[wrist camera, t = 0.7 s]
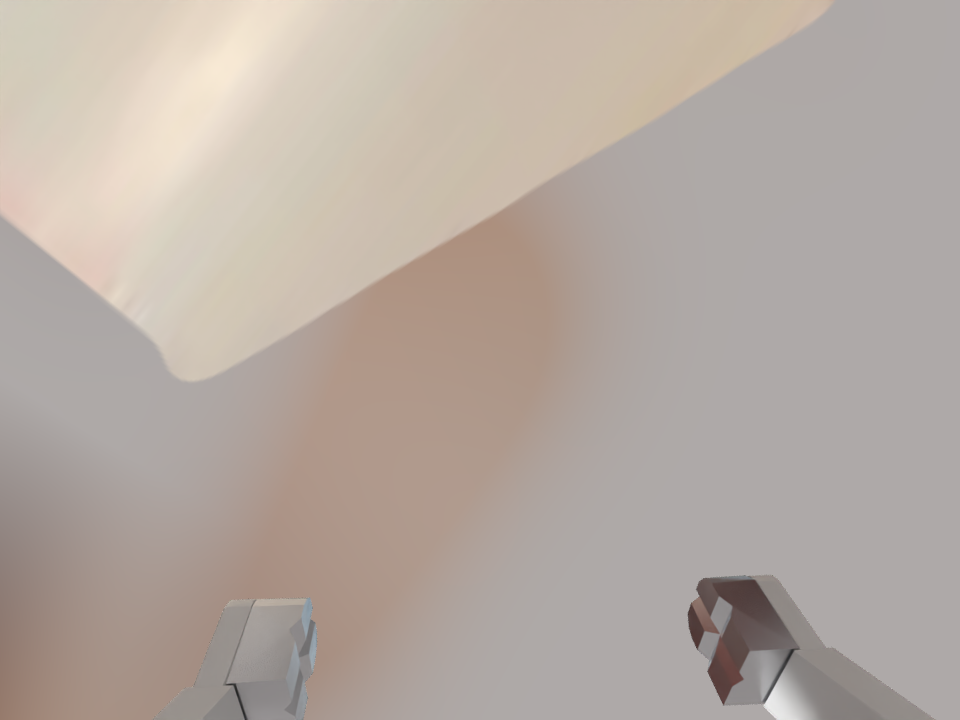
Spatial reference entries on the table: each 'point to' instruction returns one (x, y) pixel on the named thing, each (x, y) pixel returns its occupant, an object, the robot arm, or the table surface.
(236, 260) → the table surface
